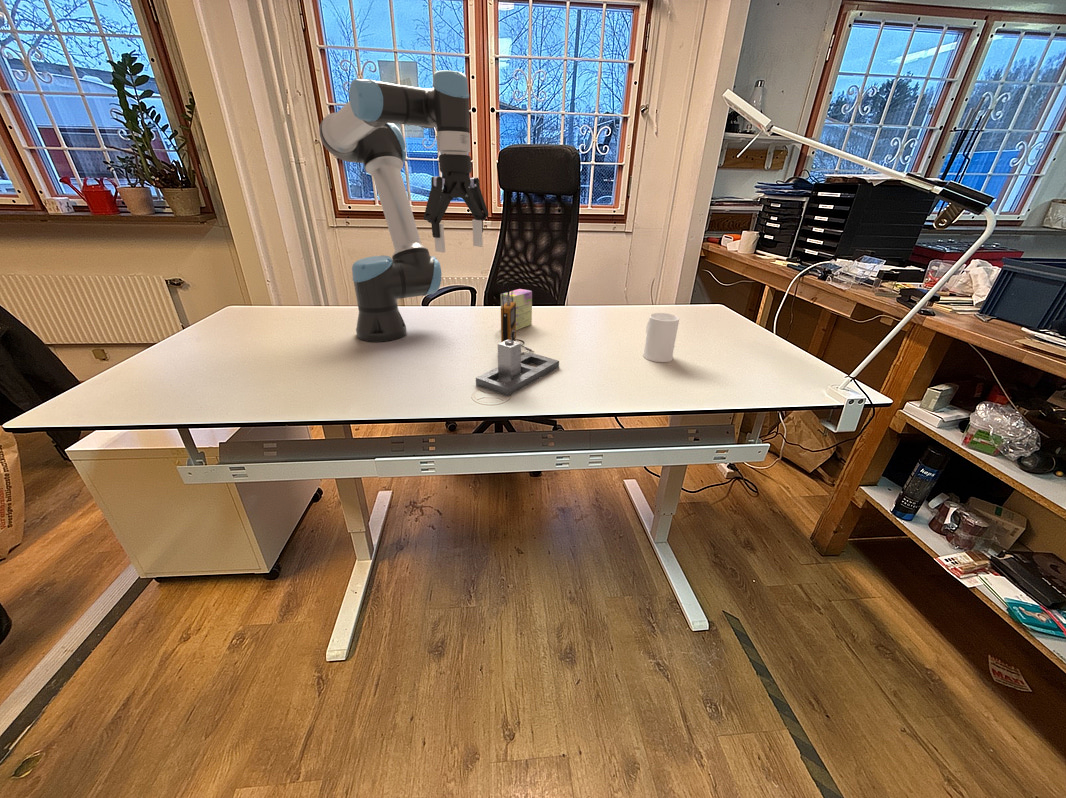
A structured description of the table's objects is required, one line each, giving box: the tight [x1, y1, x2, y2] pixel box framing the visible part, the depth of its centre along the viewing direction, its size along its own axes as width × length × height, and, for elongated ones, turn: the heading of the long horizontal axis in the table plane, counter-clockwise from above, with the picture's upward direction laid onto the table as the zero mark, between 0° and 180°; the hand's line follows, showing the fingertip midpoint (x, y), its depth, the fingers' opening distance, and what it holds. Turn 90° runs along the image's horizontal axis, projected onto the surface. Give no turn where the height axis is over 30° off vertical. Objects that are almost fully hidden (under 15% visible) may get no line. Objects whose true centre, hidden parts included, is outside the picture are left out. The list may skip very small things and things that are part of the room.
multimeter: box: [500, 278, 535, 355], centre depth 122 cm, size 15×10×20 cm
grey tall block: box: [497, 340, 522, 384], centre depth 103 cm, size 4×4×10 cm
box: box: [500, 288, 533, 331], centre depth 142 cm, size 10×6×12 cm, turn 144°
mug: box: [642, 312, 680, 363], centre depth 121 cm, size 12×8×12 cm
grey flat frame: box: [475, 351, 560, 397], centre depth 108 cm, size 10×22×2 cm, turn 144°
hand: (460, 249), depth 109 cm, fingers open, 13 cm apart
